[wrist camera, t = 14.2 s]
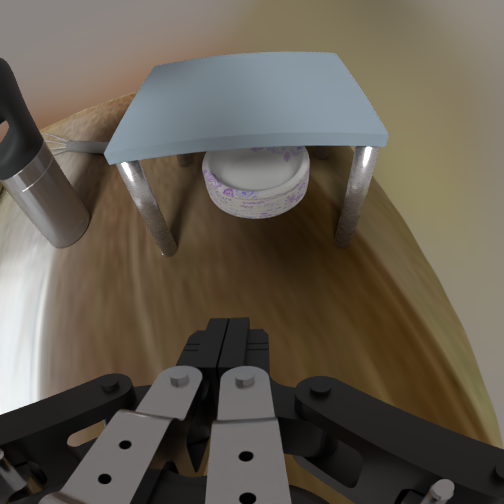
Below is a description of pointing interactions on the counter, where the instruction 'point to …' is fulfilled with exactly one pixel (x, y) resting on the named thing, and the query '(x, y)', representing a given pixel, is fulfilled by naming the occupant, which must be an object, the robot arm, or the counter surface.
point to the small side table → (247, 121)
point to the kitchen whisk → (82, 146)
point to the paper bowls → (257, 179)
